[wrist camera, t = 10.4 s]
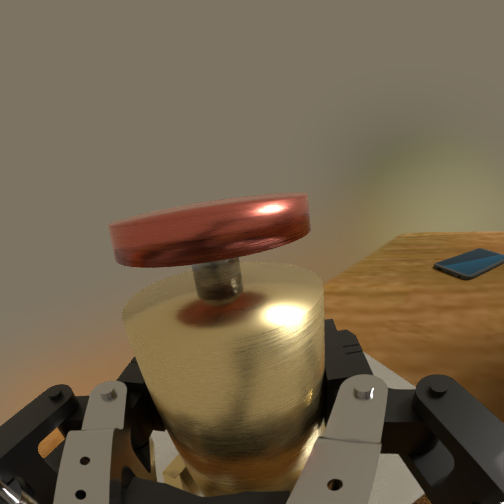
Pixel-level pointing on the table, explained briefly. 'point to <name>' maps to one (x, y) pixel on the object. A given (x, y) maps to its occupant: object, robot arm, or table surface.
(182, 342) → the brass valve
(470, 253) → the smartphone
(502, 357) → the table surface
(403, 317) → the table surface
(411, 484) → the fitting plate
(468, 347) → the table surface
